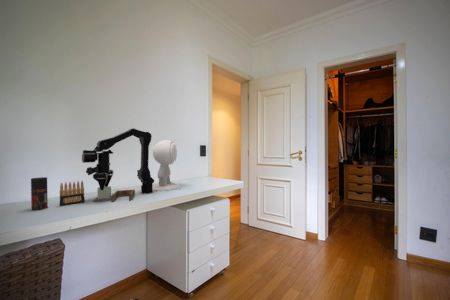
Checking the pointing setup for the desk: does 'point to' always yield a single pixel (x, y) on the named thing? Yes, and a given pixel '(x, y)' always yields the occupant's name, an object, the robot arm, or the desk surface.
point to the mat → (102, 199)
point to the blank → (104, 192)
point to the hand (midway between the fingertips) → (104, 188)
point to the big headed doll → (165, 164)
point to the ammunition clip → (71, 194)
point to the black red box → (39, 193)
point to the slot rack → (123, 194)
